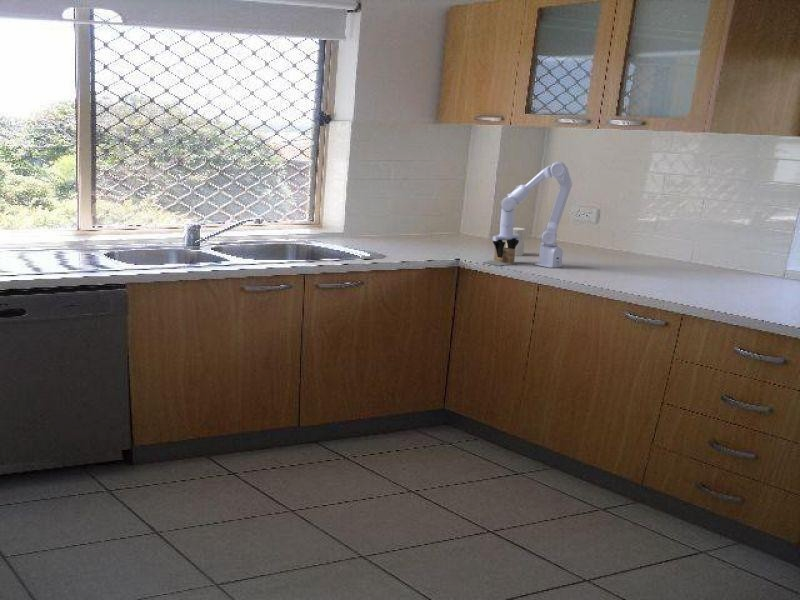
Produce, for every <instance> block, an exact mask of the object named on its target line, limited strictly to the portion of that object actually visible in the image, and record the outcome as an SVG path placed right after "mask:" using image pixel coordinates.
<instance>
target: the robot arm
mask: <svg viewBox="0 0 800 600" xmlns="http://www.w3.org/2000/svg"><path fill="white" fill-rule="evenodd" d="M570 175H571V174H570V172H569V170H568V167H567V166H566V164H565V163H564V162H563V161H560V160H556V161H554V162H553V163H552V164H550V165H548V166H546V167H545V168H542V170H540V171H539V172H538V173H537V174H536V175H535V176H534V177H533V178H531V179H530V180H529V181H528V182H527V183H526V184H520V185H516V186H515V189H514V190H512V192H510V193H507V196H506V197H504V198H503V199H502V200H501V203H500V206H501V210H500V213H501V214H500V223H499V234H497V235H493V236H492V243H493V245H494V249H495V248H496V252H497V257H500V258H502V255H503V248H504V247H505V246H506V241H507V245H508V248H511V249H515V247H516V246H517V244H518V243H519V240H516V239H519V235H518V234H513V228H515V227H514V225H515V224H514V223H515V207H516V205H520V204H521V203H522V202H523V201H524V200H525V199H527V198H528V197H529V196H530V194H531V190H533V189H534V188H535V187H537V186H538V185H539V184H541V183H542V181H544V180H545V179H550V178H552V176H553V178H555V179H556V180H557V183H558V185H559V189H558V192H557V194H556V197H555V198H556V199H555V200H554V204H553V207H552V210H551V214H550V217H549V220H548V222H547V225H546V227H545V229H543V231H542V233H541V236H540V237H541V242H540V243H539V252H538V253H539V256H538V262H534V265H535V266H540V267H545V268H550V269H552V268H553V269H554V268H559V267H560V268H561V267H564V265H563V249H562V247H560V246H558V243H557V236H558V235H557V232H558V229H559V226H560V225H559V224H560V222H561V219H562V216H563V212H564V210H565V208H566V204H567V200H568V198H569V195H570V192H571V188H572V186H573V182H572V179H571V176H570Z"/></svg>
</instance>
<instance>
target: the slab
mask: <svg viewBox="0 0 800 600" xmlns="http://www.w3.org/2000/svg"><path fill="white" fill-rule="evenodd" d="M493 255H494V258H493V261H499V262H503V263H508V264H511V263H515V257H516V256H515V249H511V248H506V246H504V248H503V255H502V258H500V257H497V252H496V248H495V247H494V254H493Z"/></svg>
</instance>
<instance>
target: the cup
mask: <svg viewBox="0 0 800 600" xmlns="http://www.w3.org/2000/svg"><path fill="white" fill-rule="evenodd" d="M525 233H526V228H524V227H523V228H522V227H513V234H518V235H519V239H516V240H519V243H518V244H517V246H516V247H515V257H522V255H523V256H524V250H525V235H526V234H525ZM505 248H508V245H507V241H506V240H505Z"/></svg>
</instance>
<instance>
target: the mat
mask: <svg viewBox="0 0 800 600" xmlns="http://www.w3.org/2000/svg"><path fill="white" fill-rule="evenodd" d="M481 263H482V264H487V265H492V266H497V267H504V265H506V266H511V265H510V264H508V263H503V262H499V261H494V260H487V261H482V262H481ZM511 264H514V265H518V262H514V263H511Z"/></svg>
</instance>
